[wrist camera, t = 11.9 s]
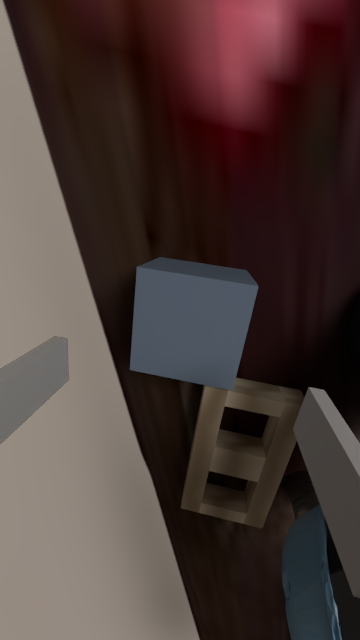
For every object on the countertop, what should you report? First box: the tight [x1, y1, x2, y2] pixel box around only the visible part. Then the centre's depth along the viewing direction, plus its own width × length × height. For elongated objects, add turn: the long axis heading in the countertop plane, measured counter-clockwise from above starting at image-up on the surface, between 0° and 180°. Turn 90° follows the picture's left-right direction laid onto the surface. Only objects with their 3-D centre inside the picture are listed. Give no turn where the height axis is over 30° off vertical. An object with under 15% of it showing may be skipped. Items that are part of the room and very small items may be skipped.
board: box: [181, 378, 305, 528], centre depth 31 cm, size 11×20×3 cm, turn 172°
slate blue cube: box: [130, 257, 258, 391], centre depth 23 cm, size 9×9×8 cm
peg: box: [286, 471, 320, 520], centre depth 27 cm, size 4×4×12 cm
